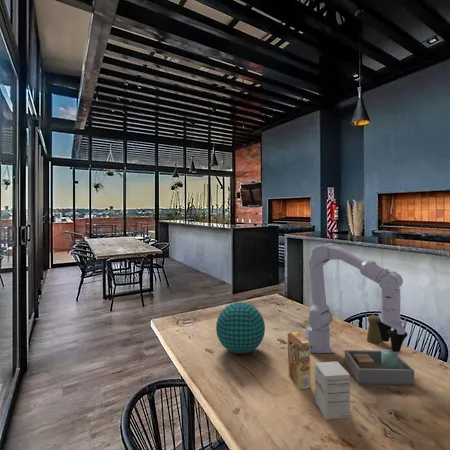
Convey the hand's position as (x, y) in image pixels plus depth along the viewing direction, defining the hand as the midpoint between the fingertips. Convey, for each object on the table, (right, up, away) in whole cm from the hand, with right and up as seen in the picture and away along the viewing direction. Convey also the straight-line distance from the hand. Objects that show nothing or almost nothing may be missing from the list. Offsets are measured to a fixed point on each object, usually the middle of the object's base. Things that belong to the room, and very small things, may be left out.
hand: (390, 346), depth 102 cm
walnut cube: (-9, -9, +1) cm, 13 cm away
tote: (-4, -10, +1) cm, 11 cm away
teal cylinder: (0, -9, 0) cm, 9 cm away
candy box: (-33, -11, -3) cm, 35 cm away
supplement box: (-27, -12, -17) cm, 34 cm away
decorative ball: (-51, -10, +19) cm, 56 cm away
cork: (+8, -9, +26) cm, 28 cm away
